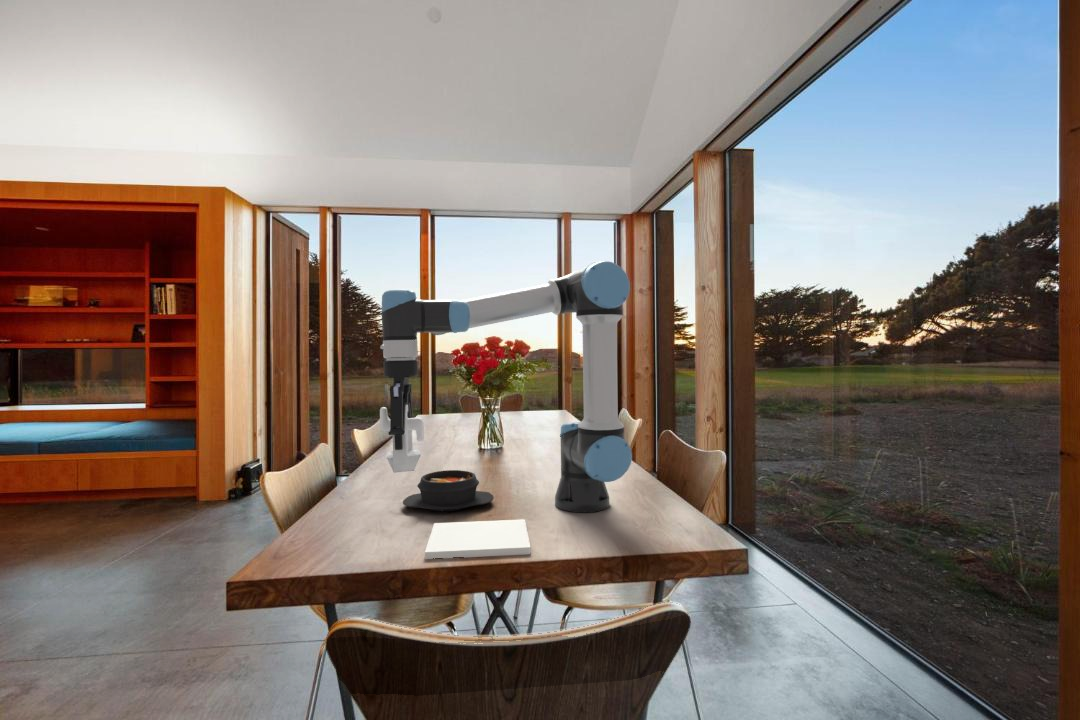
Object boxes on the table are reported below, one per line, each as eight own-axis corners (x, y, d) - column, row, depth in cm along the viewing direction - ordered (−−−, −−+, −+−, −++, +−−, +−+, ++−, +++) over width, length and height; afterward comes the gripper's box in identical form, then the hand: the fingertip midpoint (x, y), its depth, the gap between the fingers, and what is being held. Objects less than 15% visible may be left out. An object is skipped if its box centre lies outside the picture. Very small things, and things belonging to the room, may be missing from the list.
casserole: (493, 495, 154) (493, 467, 154) (493, 514, 136) (493, 483, 135) (408, 498, 152) (408, 469, 152) (397, 518, 133) (396, 486, 133)
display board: (524, 525, 127) (524, 519, 127) (530, 554, 109) (530, 547, 109) (434, 529, 125) (434, 523, 125) (424, 559, 107) (424, 552, 107)
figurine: (426, 471, 115) (424, 404, 114) (381, 475, 112) (379, 406, 111) (423, 464, 121) (421, 401, 121) (381, 468, 119) (379, 403, 118)
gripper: (392, 358, 126) (395, 451, 127) (372, 360, 105) (376, 471, 106) (423, 358, 127) (426, 450, 127) (410, 360, 106) (413, 469, 107)
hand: (403, 459), depth 117 cm, fingers closed on figurine, 8 cm apart
